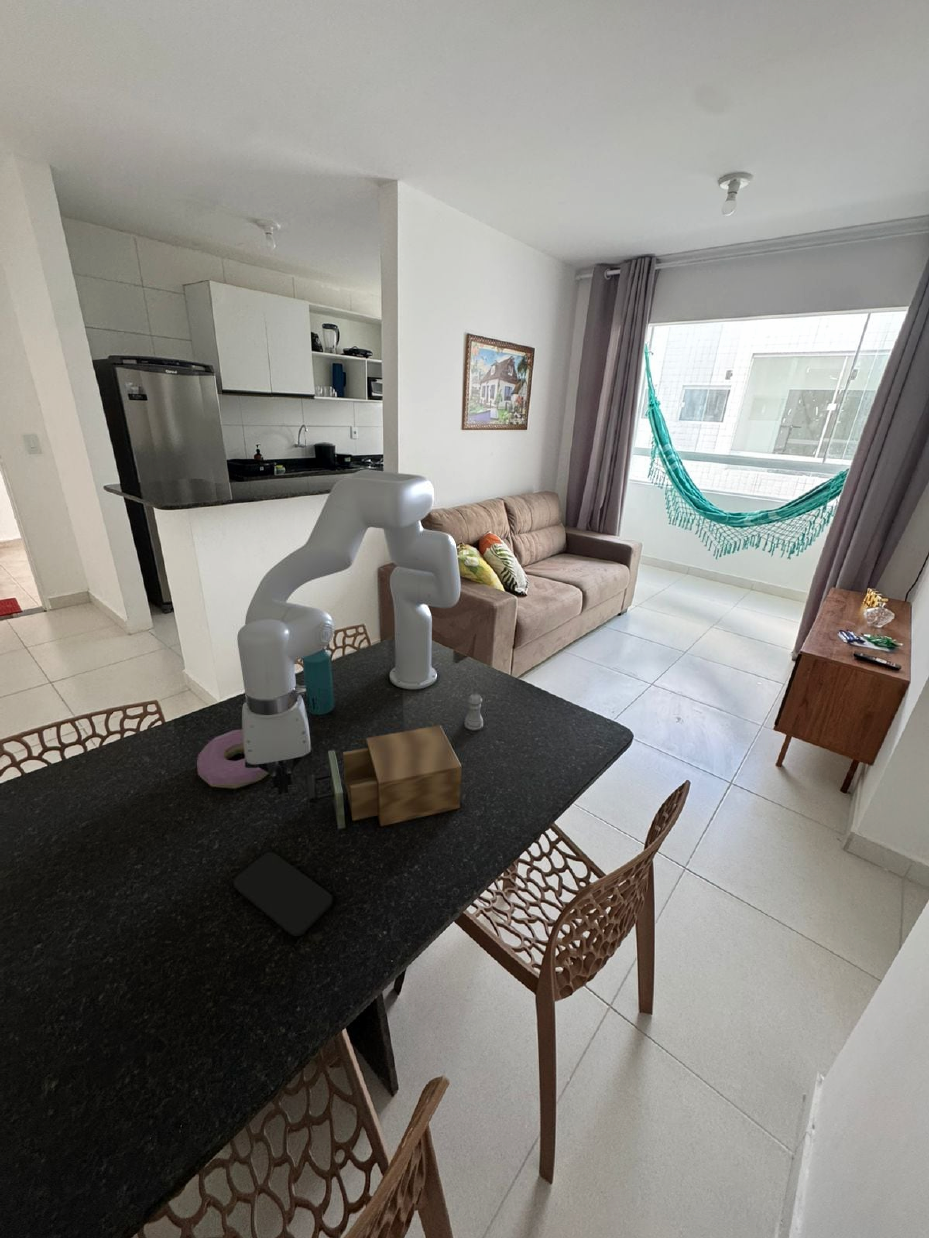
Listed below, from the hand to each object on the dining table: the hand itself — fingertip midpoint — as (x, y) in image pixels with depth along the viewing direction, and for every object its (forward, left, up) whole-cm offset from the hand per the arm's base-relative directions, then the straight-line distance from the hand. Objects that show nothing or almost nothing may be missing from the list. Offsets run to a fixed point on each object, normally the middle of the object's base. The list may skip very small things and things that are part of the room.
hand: (283, 788), depth 88 cm
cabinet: (0, +23, -7) cm, 24 cm away
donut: (-17, -8, -8) cm, 20 cm away
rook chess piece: (-17, +42, -8) cm, 46 cm away
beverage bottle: (-32, +9, -8) cm, 34 cm away
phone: (+15, -1, -7) cm, 17 cm away
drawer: (0, +13, -6) cm, 14 cm away
